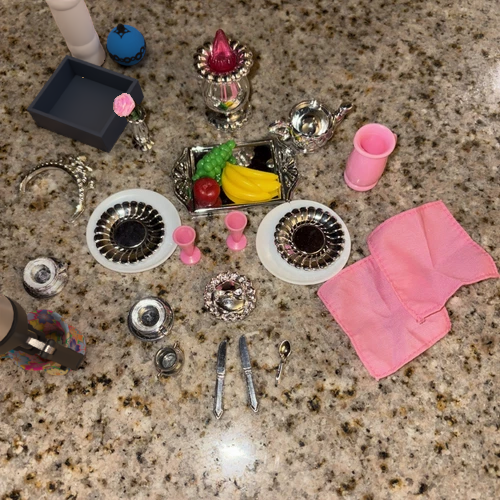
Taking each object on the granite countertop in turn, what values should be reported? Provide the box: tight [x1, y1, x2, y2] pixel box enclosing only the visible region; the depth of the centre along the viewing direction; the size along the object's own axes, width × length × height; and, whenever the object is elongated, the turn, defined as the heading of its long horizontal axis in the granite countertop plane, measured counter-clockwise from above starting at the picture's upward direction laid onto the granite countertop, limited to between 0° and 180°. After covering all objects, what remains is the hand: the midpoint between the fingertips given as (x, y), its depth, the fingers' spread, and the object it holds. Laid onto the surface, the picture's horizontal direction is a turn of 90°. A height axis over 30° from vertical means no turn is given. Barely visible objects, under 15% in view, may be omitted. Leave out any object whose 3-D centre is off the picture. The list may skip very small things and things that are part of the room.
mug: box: [0, 308, 87, 376], centre depth 79 cm, size 12×9×11 cm
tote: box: [26, 54, 145, 154], centre depth 104 cm, size 18×16×6 cm
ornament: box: [105, 22, 147, 67], centre depth 107 cm, size 9×9×10 cm
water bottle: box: [44, 0, 106, 67], centre depth 100 cm, size 7×7×25 cm
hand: (54, 351), depth 82 cm, fingers closed on mug, 9 cm apart
